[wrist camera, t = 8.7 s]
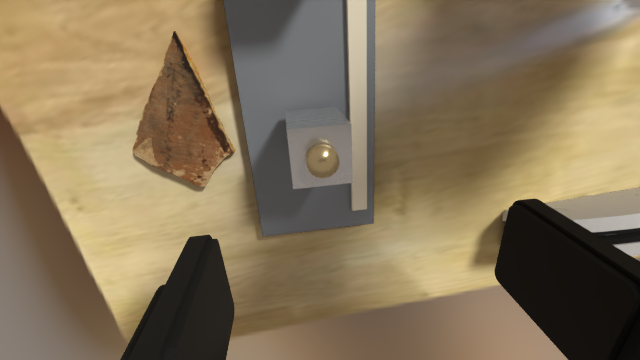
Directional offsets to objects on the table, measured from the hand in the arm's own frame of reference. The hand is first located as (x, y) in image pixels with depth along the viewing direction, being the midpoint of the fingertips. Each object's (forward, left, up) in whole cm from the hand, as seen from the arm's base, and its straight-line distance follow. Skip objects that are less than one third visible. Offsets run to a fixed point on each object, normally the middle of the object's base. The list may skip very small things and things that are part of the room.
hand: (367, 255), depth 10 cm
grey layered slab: (+12, +29, -19) cm, 37 cm away
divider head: (0, 0, -17) cm, 17 cm away
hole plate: (-4, 0, -19) cm, 19 cm away
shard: (-1, -12, -20) cm, 23 cm away
